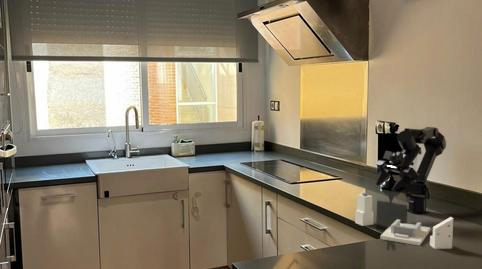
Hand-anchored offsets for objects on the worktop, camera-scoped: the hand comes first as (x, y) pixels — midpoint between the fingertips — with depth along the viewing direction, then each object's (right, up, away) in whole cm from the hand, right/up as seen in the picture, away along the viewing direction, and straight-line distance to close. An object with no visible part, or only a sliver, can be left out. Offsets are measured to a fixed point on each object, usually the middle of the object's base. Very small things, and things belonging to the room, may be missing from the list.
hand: (384, 187), depth 186 cm
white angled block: (+10, -17, -27) cm, 34 cm away
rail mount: (+3, -15, -15) cm, 22 cm away
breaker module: (-8, -14, -2) cm, 16 cm away
